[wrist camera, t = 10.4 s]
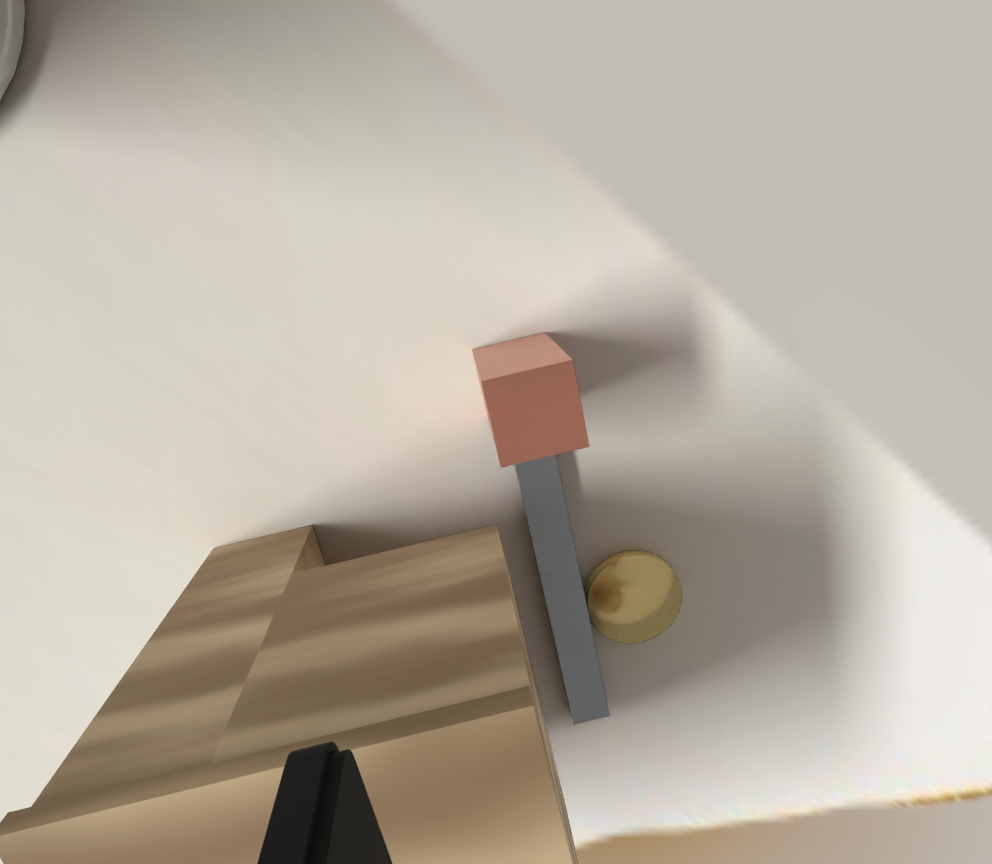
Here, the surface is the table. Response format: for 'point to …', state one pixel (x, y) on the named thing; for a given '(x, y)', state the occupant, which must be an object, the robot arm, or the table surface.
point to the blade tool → (546, 490)
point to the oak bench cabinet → (316, 713)
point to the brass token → (632, 596)
